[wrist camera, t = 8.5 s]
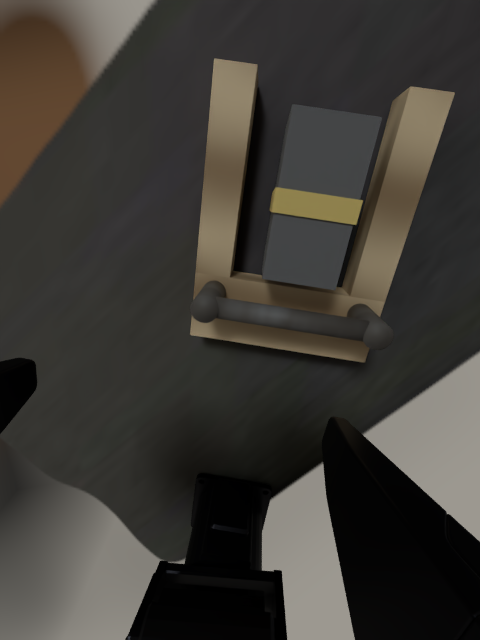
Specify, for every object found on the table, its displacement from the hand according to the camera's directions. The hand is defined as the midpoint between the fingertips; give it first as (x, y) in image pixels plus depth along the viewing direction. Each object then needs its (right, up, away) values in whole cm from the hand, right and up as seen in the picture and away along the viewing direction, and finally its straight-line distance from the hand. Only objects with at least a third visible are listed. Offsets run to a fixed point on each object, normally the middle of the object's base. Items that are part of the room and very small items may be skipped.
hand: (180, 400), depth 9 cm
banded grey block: (+5, +9, +9) cm, 14 cm away
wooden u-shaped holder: (+5, +8, +9) cm, 13 cm away
